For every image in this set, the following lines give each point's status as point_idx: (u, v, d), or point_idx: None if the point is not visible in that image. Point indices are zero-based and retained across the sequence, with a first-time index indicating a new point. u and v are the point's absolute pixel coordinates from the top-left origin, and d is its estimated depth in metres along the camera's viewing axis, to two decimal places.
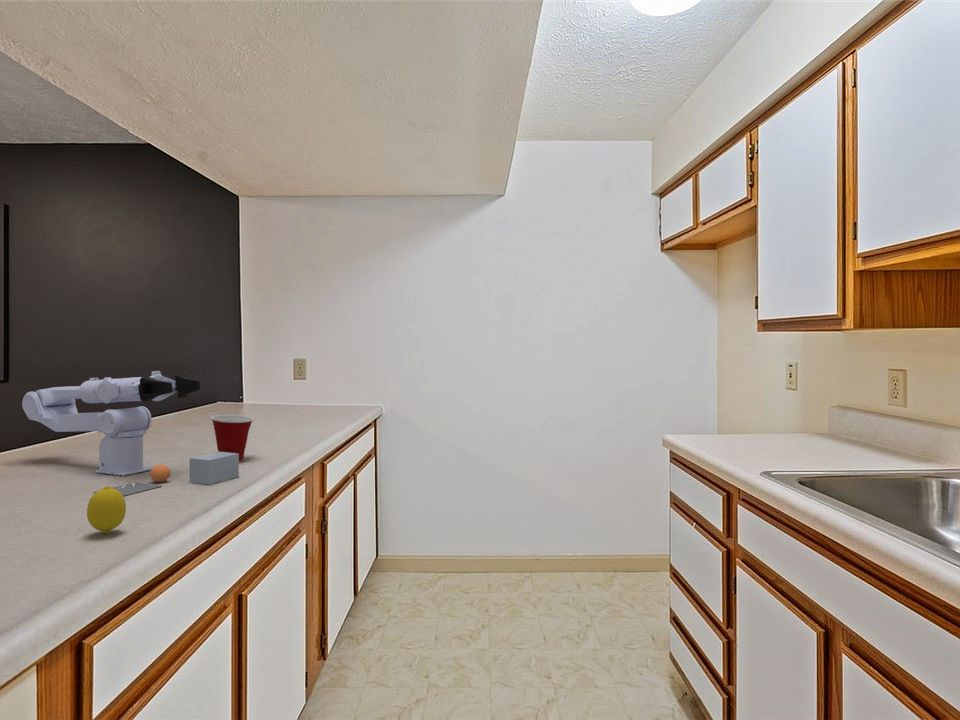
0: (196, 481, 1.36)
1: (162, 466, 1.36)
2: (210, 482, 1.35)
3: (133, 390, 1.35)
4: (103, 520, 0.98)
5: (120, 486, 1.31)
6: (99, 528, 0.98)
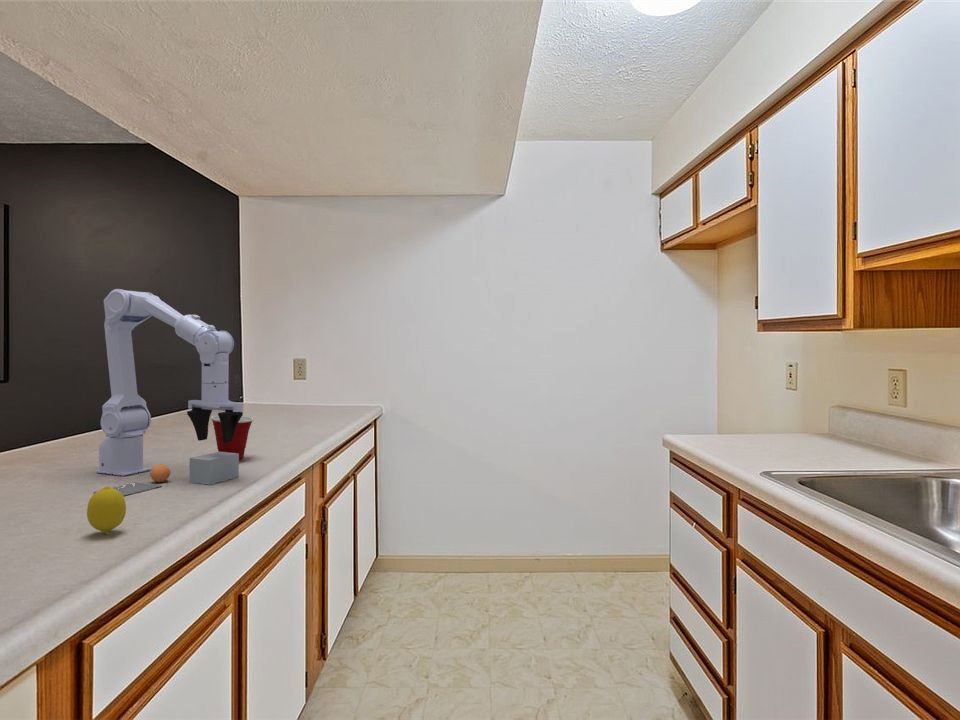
0: (196, 481, 1.36)
1: (162, 466, 1.36)
2: (210, 482, 1.35)
3: (238, 410, 1.37)
4: (103, 520, 0.98)
5: (120, 486, 1.31)
6: (99, 528, 0.98)
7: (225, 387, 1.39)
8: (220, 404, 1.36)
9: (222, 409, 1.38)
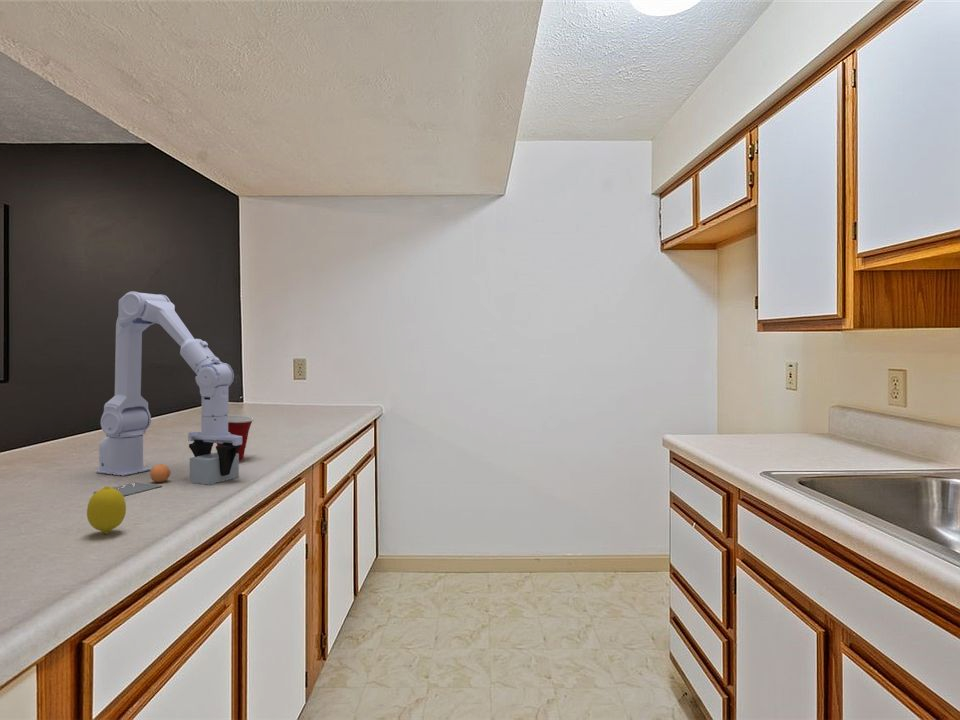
0: (196, 481, 1.36)
1: (162, 466, 1.36)
2: (210, 482, 1.35)
3: (238, 443, 1.37)
4: (103, 520, 0.98)
5: (120, 486, 1.31)
6: (99, 528, 0.98)
7: (225, 420, 1.39)
8: (220, 437, 1.36)
9: (222, 442, 1.38)
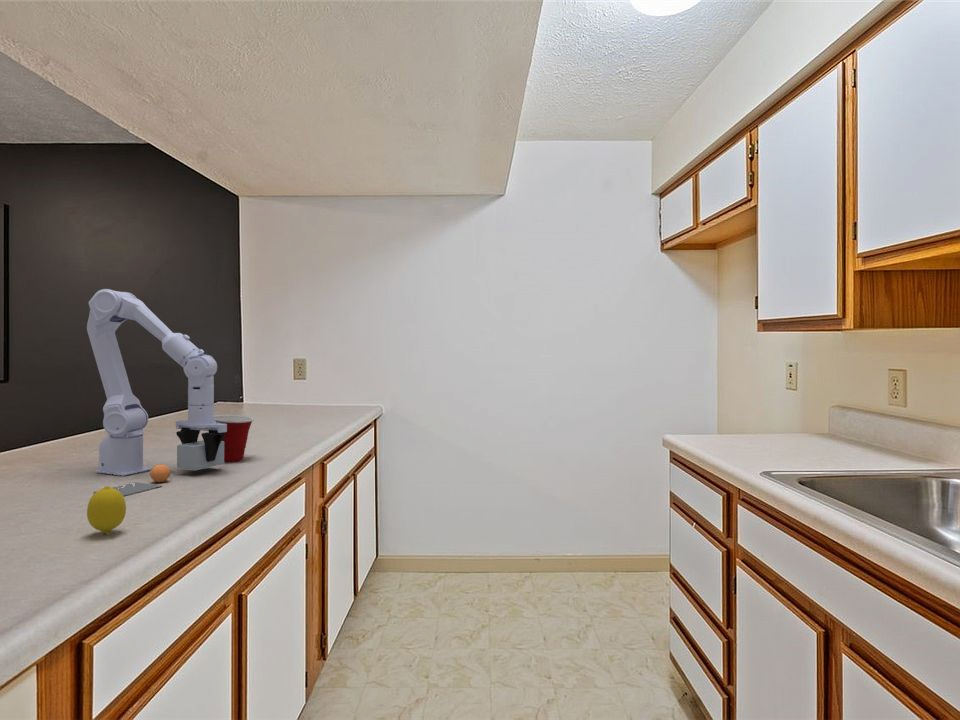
0: (183, 467, 1.43)
1: (162, 466, 1.36)
2: (196, 467, 1.43)
3: (223, 431, 1.44)
4: (103, 520, 0.98)
5: (120, 486, 1.31)
6: (99, 528, 0.98)
7: (210, 409, 1.46)
8: (205, 425, 1.44)
9: (207, 429, 1.46)
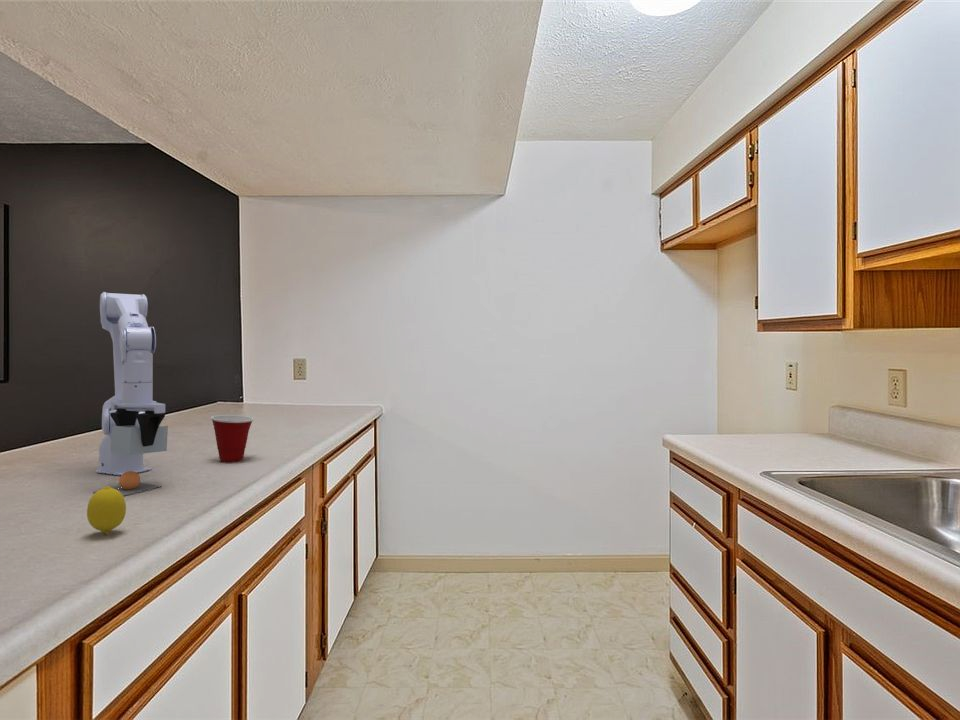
0: (117, 451, 1.27)
1: None
2: (131, 452, 1.26)
3: (160, 411, 1.28)
4: (103, 520, 0.98)
5: (120, 486, 1.31)
6: (99, 528, 0.98)
7: (148, 387, 1.30)
8: (141, 405, 1.27)
9: (144, 410, 1.29)
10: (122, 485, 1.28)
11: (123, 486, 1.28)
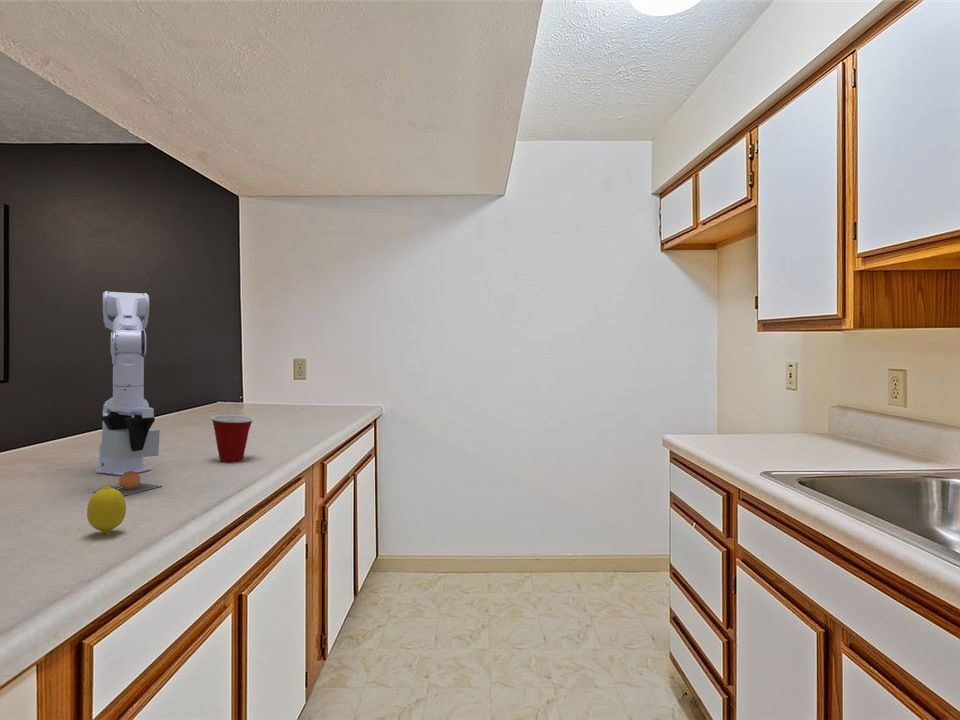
0: (106, 455, 1.26)
1: None
2: (119, 457, 1.24)
3: (148, 416, 1.25)
4: (103, 520, 0.98)
5: (120, 486, 1.31)
6: (99, 528, 0.98)
7: (137, 390, 1.28)
8: (129, 409, 1.25)
9: (134, 414, 1.27)
10: (122, 485, 1.28)
11: (123, 486, 1.28)
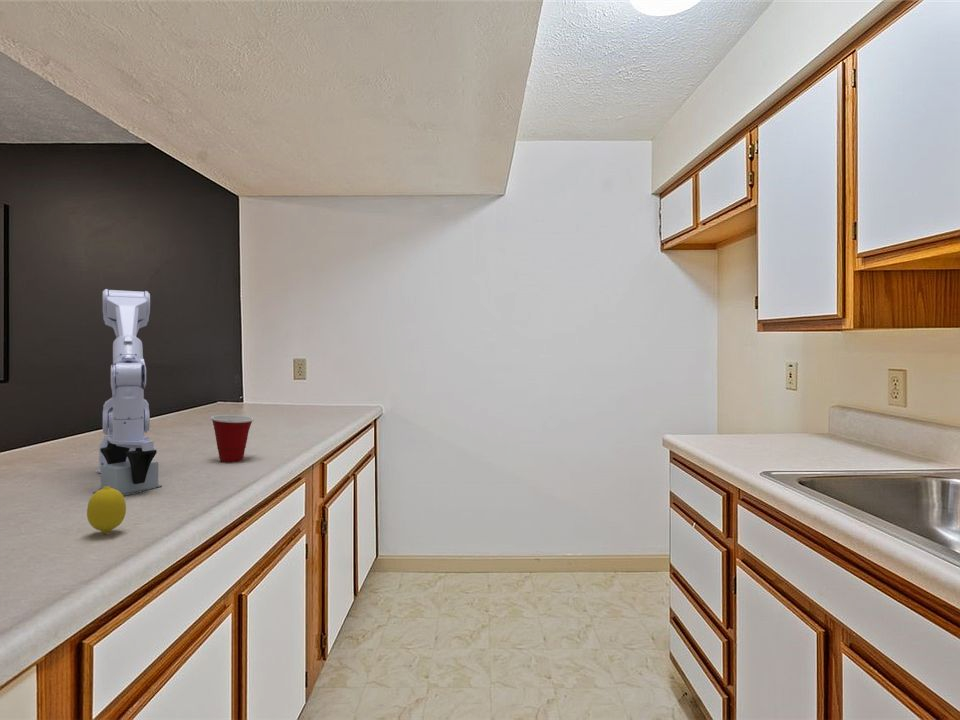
0: None
1: None
2: None
3: (148, 449, 1.25)
4: (103, 520, 0.98)
5: None
6: (99, 528, 0.98)
7: (137, 423, 1.28)
8: (129, 442, 1.25)
9: (134, 447, 1.27)
10: None
11: None
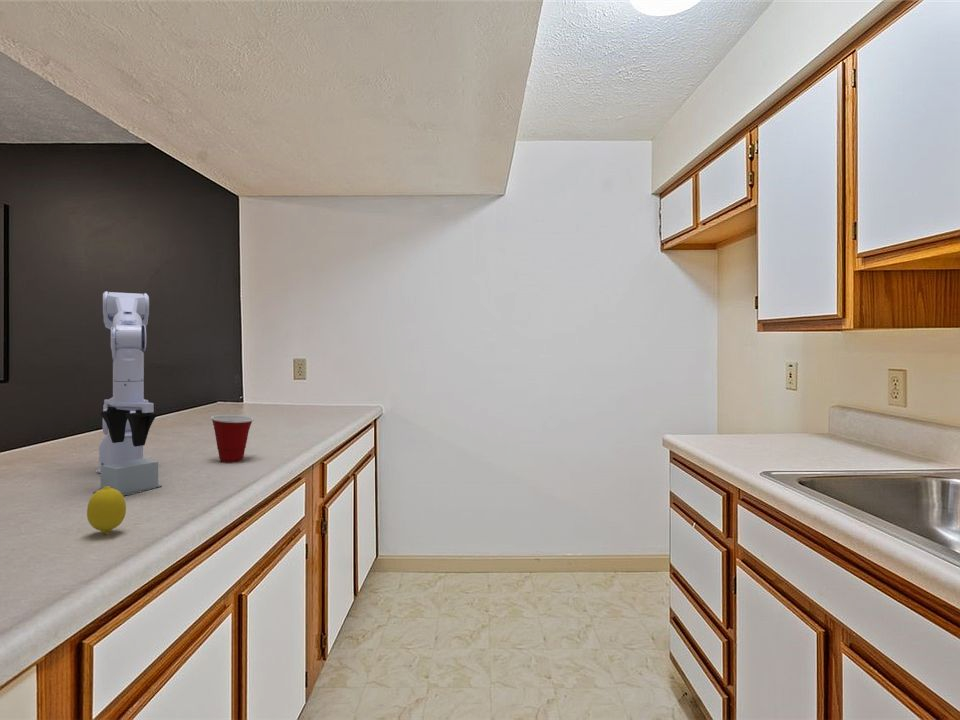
0: None
1: None
2: None
3: (148, 411, 1.25)
4: (103, 520, 0.98)
5: None
6: (99, 528, 0.98)
7: (137, 386, 1.28)
8: (129, 404, 1.25)
9: (134, 409, 1.27)
10: None
11: None
